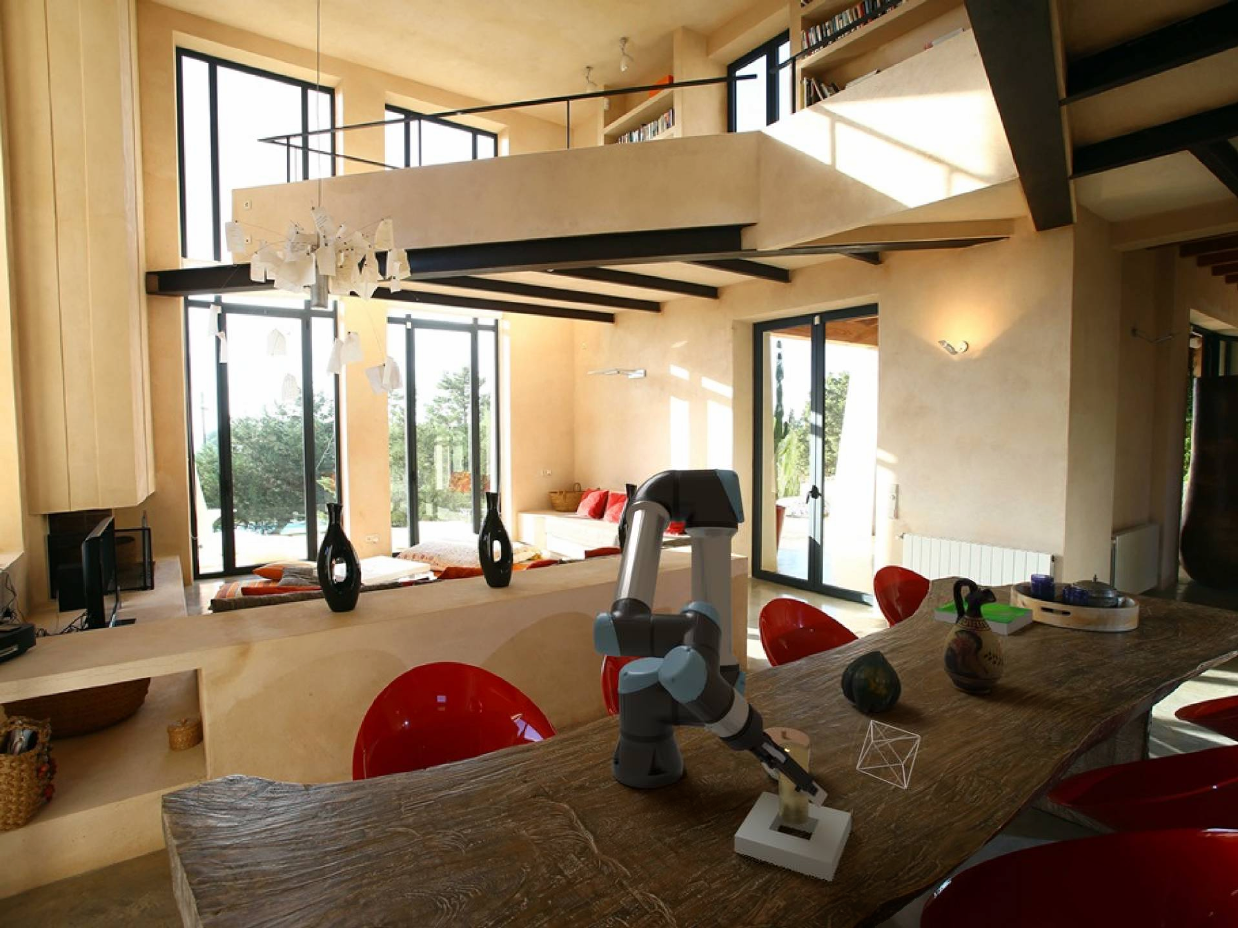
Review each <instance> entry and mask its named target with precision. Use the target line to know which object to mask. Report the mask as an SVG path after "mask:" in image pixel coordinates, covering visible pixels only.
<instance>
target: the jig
mask: <svg viewBox="0 0 1238 928" xmlns="http://www.w3.org/2000/svg"><path fill="white" fill-rule="evenodd" d="M781 825H783V826H782V827H785V826H788V827H790V829H792V828H796V829H798V830H797V831H799V830H804V831H806V832H805V833H807V832H811V833H813V834H811V836H810V839H806V838H802V837H798V836H795V835H791V834H788V833H784V832H780V831H778V830H779V829H780V827H781ZM779 826H780V827H779ZM788 827H787V828H788ZM778 828H779V829H778ZM796 829H795V830H796ZM850 830H852V813H850V812H847V811H843V810H840V809H835V808H832V807H828V806H827V807H826V806H823V805H821V806H820V808H818V807H817V806H816V805H815V804H814V803H813V802H809V820H808V822H806V823H805V824H801V825H794V824H789V823H786V822H784V821H783V820H782V819H781V818H780V817H779V794H775V793H773V792H767V791H763V792H762V793H761V794H760V795H759V798H758V799H757V800H756V801H755V804H754V805H753V807H752V808H751V810H750V811H749V813H748V814H747V816H746V818H745V819H744V820H743V822H742V823H741V825H740V826H739V828H738V829H737V831H736V833H735V834H734V853H735V852H737V853H740V854H744V855H748V856H751V857H754V858H757V859H759V860H758V861H760V859H761V860H762V861H761V862H763V861H767V862H769V863H768V864H770V863H773V864H774V866H776V865H778V866H777V867H780V866H783V867H785V868H784V869H786V868H789V869H791V870H790V871H793V870H794V871H793V872H796V871H797V873H799V872H800V873H799V874H802V873H803V875H806V876H809V875H811V876H810V877H812V876H814V877H813V878H815V877H818V878H817V879H819V878H820V880H822V879H825V880H828V881H827V882H829V881H832V882H833V880H832V879H834V877H835V874H836V871H837V869H836V868H838V866H839V863H840V861H839V859H840V860H841V858H840V857H842V855H843V853H842V852H844V850H843V849H845V847H846V845H845V844H847V842H846V841H848V839H849V836H850V834H851V831H850ZM849 833H850V834H849ZM847 838H848V839H847ZM844 846H845V847H844ZM737 853H736V854H737ZM740 854H739V855H740ZM841 854H842V855H841ZM744 855H743V856H744ZM757 859H756V860H757ZM838 862H839V863H838ZM773 864H772V865H773ZM837 865H838V866H837ZM783 867H782V868H783ZM789 869H788V870H789ZM835 870H836V871H835ZM834 873H835V874H834ZM833 876H834V877H833ZM825 880H824V881H825Z"/></svg>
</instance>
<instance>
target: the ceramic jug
mask: <svg viewBox="0 0 1238 928" xmlns="http://www.w3.org/2000/svg"><path fill="white" fill-rule="evenodd" d="M963 587H968V589H969V592H968V594H966V595H965V597H964V599H965V602H967V603H968V607H967V610H966V612H965V608H964V605H963V599H962V598H963V595H962V588H963ZM952 590H953V594H952V596H953V600H954V601H953V602H955V606H956V610H957V615H958V617H957V619H956V622H955V625H953V627H952V628H951V630H950V632H949V633H948V634H947V636H946V637H945V640H944V643H943V645H942V649H941V666H942V667H943V670H944V671H945V673H946V674H947V675H948V677H949V678H950V679H951V684H952V686H953V687H954V689H956V690H959V691H961V692H963V693H965V694H969V695H971V694H973V695H978V694H982V695H988V693H990V692H991V688H992V687H993V686H994V685H996V683H997V682H999V680H1000V679H1001V678H1002V675H1003V673H1004V669H1005V660H1004V655H1003V651H1002V647H1001V643H1000V642H999V640H998V638H997V637H996V636H997V635H996V634H995V633H993V631H992V629H991V628H990V626H989V624H988V623H987V622H986V620H985V619H984V617H983V615H982V613H981V606H982V605H985V604H988V603H997V600H998V599H997V597H996V595H995V593H994V592H993V591H992V589H990V588H989V587H987V588H985V589H981V588H979V586H978V584H977V582H975V581H974V580H972V579H970V578H967V577H962V578H959V579H957V580H955V583H954V584H953V587H952Z"/></svg>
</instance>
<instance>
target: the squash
mask: <svg viewBox="0 0 1238 928" xmlns="http://www.w3.org/2000/svg"><path fill="white" fill-rule="evenodd" d="M840 687H841V690H842V695H843V696H844V697H845V698H846V699H847V700H848V701H850V702H851V703H852V704H854V705H856V706H857V708H858V709H859V710H860V711H862V712H865V713H867V712H870V710H872V712H874V713H880V712H882V711H883V710H889V709H891V708H893V707H894V706H895V705H896V704H897V702H898V701H899V700H900V697H901V694H902V684H901V680H900V678H899V675H898V673H897V672H896V670H895V669H894V667H893V665H891V663H890V662H889V661H888V659H887V658H886V657H885V655H884V654H883V653H882V652H881V650H873V651H870V652H867V653H865V654H862V655H860V656H858V657H857V658H855V659H854V660H853V661H851V662H850V663H849V664H848V665H847V666H846V667H845V669H844V670H843V672H842V676H841V681H840Z"/></svg>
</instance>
